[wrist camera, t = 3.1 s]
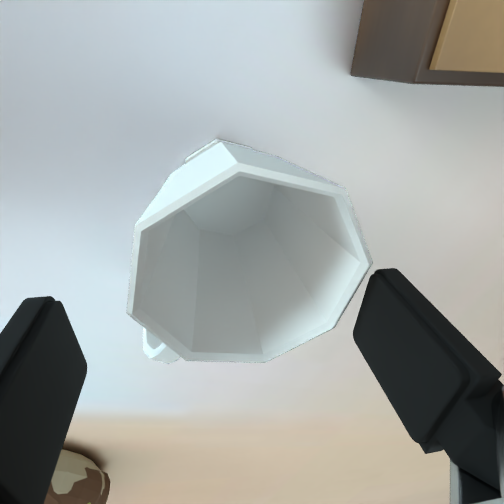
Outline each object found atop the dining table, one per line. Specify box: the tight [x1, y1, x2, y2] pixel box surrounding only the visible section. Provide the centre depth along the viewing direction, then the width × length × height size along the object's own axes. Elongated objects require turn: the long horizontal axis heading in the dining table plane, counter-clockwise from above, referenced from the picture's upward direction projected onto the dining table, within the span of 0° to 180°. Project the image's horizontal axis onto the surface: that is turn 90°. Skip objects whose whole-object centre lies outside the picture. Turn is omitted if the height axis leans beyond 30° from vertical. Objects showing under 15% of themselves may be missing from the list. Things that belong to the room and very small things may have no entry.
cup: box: [126, 139, 373, 364], centre depth 12 cm, size 7×10×8 cm
